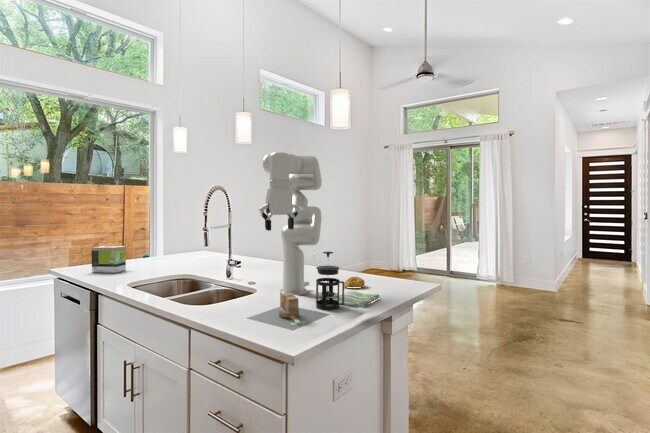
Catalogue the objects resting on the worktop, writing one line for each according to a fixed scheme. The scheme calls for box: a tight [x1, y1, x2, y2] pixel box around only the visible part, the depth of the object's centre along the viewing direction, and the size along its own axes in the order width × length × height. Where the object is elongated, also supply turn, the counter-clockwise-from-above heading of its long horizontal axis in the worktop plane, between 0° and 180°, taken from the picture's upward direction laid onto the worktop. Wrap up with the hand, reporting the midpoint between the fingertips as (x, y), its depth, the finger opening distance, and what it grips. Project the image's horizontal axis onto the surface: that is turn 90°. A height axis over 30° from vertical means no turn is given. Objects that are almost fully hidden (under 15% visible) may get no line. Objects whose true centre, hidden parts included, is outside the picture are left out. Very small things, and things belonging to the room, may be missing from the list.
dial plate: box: [246, 306, 330, 331], centre depth 134 cm, size 21×21×2 cm
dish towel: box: [333, 290, 381, 309], centre depth 159 cm, size 17×23×4 cm
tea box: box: [91, 245, 127, 274], centre depth 221 cm, size 15×10×15 cm, turn 84°
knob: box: [279, 292, 300, 323], centre depth 131 cm, size 15×7×7 cm, turn 23°
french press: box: [315, 251, 345, 311], centre depth 145 cm, size 12×9×23 cm
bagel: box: [344, 276, 366, 288], centre depth 187 cm, size 10×11×5 cm
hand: (279, 229), depth 145 cm, fingers open, 9 cm apart
